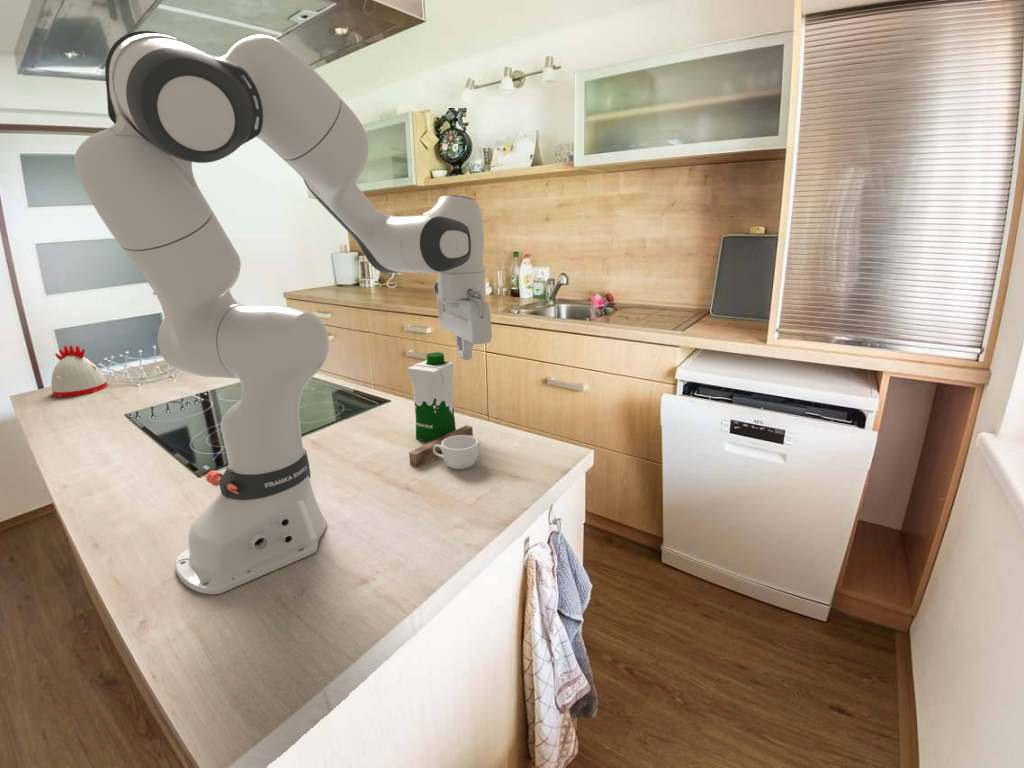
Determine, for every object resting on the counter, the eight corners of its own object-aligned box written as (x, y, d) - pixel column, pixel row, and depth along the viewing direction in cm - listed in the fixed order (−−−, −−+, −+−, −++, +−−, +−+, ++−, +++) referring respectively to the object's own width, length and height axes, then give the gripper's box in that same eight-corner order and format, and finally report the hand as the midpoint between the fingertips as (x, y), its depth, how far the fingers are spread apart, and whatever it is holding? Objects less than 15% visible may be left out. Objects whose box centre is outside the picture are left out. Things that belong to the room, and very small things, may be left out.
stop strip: (416, 467, 110) (415, 454, 109) (410, 464, 111) (408, 452, 110) (473, 438, 123) (472, 427, 122) (466, 436, 124) (466, 425, 123)
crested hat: (94, 394, 163) (80, 349, 159) (43, 399, 160) (28, 352, 156) (115, 381, 176) (103, 339, 171) (69, 385, 173) (55, 342, 169)
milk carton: (461, 432, 127) (456, 353, 121) (440, 446, 119) (433, 363, 113) (432, 426, 131) (426, 350, 125) (409, 440, 123) (402, 359, 117)
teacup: (483, 457, 113) (482, 435, 112) (474, 474, 106) (473, 450, 104) (439, 455, 115) (437, 433, 113) (428, 471, 108) (426, 448, 106)
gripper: (499, 291, 90) (501, 368, 94) (460, 282, 107) (462, 347, 111) (465, 293, 87) (468, 372, 91) (430, 283, 105) (434, 350, 109)
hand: (465, 358), depth 101 cm, fingers closed
